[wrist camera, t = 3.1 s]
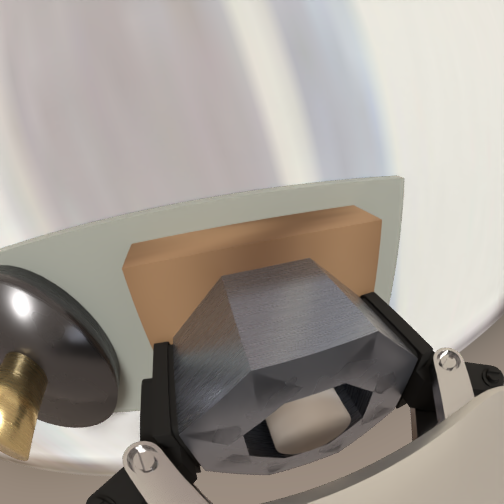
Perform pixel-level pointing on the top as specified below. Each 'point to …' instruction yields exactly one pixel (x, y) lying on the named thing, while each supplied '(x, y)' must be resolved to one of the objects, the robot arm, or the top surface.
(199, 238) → the stand
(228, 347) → the ring
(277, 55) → the top surface
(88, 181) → the top surface
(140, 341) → the mat
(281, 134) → the top surface
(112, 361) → the hub
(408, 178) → the top surface
